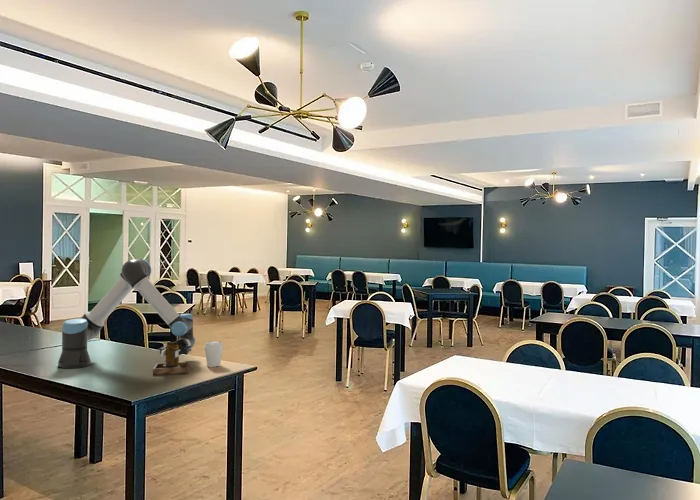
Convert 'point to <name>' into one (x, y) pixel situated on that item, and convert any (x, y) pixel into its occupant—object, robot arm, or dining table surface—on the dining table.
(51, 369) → the dining table surface
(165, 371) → the holder tray
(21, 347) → the dining table surface
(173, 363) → the condiment
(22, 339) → the dining table surface
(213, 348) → the cup
